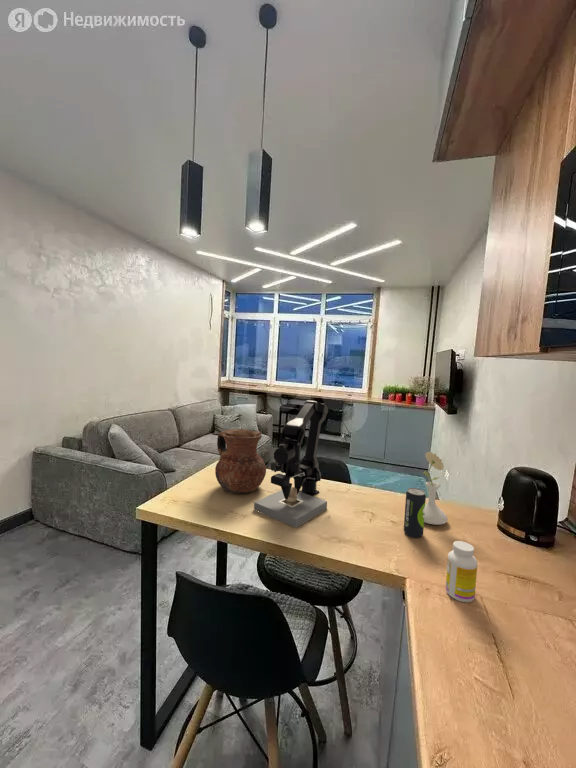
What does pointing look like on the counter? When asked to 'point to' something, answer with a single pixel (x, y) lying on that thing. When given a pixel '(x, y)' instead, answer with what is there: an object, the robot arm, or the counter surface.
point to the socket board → (290, 508)
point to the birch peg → (292, 496)
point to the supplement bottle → (461, 572)
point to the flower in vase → (433, 494)
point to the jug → (239, 461)
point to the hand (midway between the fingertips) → (291, 496)
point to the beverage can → (414, 512)
